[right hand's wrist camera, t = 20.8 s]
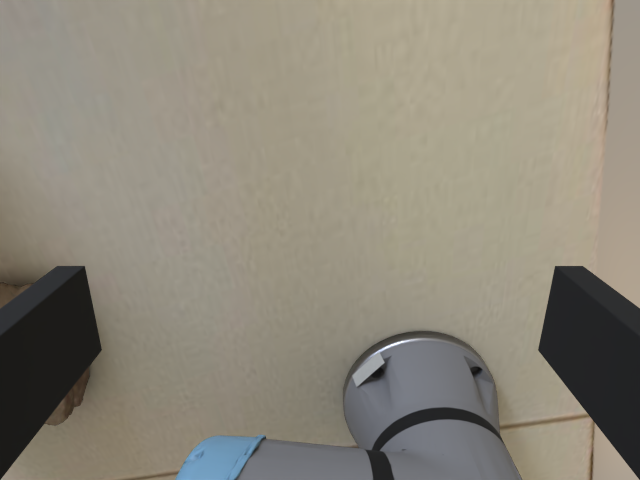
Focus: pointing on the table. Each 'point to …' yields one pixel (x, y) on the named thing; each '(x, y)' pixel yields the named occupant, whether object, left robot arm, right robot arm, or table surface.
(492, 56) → the table surface
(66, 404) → the stone
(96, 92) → the table surface
